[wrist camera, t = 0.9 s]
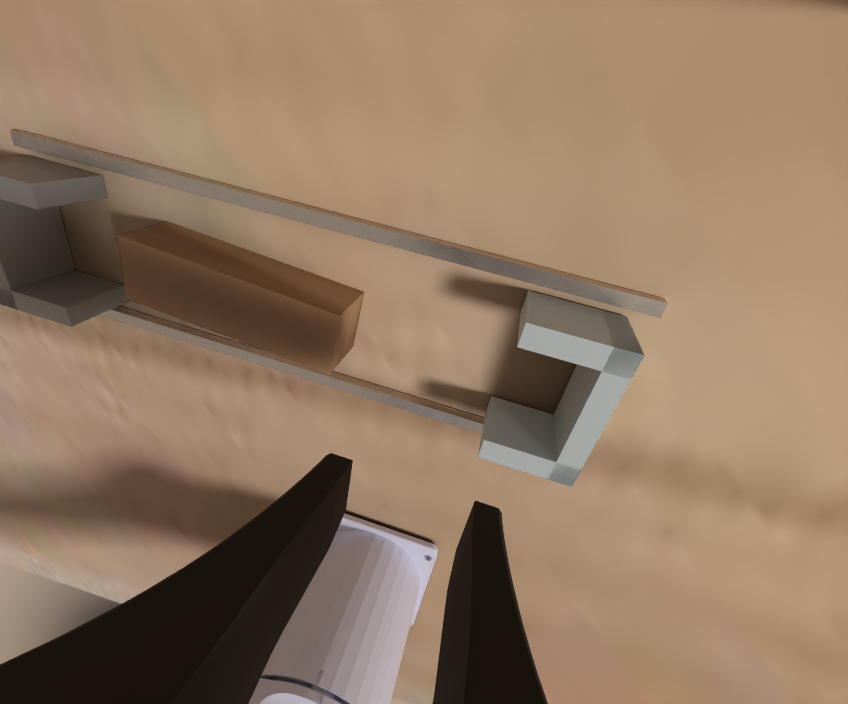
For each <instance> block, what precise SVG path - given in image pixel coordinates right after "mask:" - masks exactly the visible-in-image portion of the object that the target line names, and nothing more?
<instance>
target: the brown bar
mask: <svg viewBox="0 0 848 704" xmlns="http://www.w3.org/2000/svg"><path fill="white" fill-rule="evenodd" d="M118 243H119V251H120V258H121V266H122V274H123V281H124V289H125V297H126V299H129V300H131V301H134V302H137V303H139V304H142V305H145V306H147V307H150V308H153V309H155V310H158V311H161V312H163V313H166V314H169V315H171V316H174V317H176V318H179V319H182V320H184V321H187V322H190V323H192V324H195V325H198V326H200V327H203V328H206V329H208V330H211V331H214V332H216V333H219V334H222V335H224V336H227V337H230V338H232V339H235V340H238V341H240V342H243V343H246V344H248V345H251V346H254V347H256V348H259V349H262V350H264V351H267V352H270V353H272V354H275V355H278V356H280V357H283V358H285V359H288V360H291V361H293V362H296V363H299V364H301V365H304V366H307V367H309V368H312V369H315V370H317V371H320V372H323V373H325V374H328V375H330V373H331V372H332V371H333V370H334V369H335V367H336V366H337V365H338V364H339V363H340V361H341V360H342V359H343V358H344V357H345V355H346V354H347V353H348V352H349V350H350V349H351V348H352V347H353V344H354V339H355V335H356V330H357V325H358V320H359V315H360V310H361V306H362V301H363V296H364V292H363V291H360V290H357V289H355V288H352V287H349V286H346V285H343V284H341V283H338V282H335V281H332V280H329V279H327V278H324V277H321V276H318V275H315V274H313V273H310V272H307V271H304V270H302V269H299V268H296V267H293V266H290V265H288V264H285V263H282V262H279V261H276V260H274V259H271V258H268V257H265V256H262V255H260V254H257V253H254V252H251V251H249V250H246V249H243V248H240V247H237V246H235V245H232V244H229V243H226V242H223V241H221V240H218V239H215V238H212V237H209V236H207V235H204V234H201V233H198V232H196V231H193V230H190V229H187V228H184V227H182V226H179V225H176V224H173V223H170V222H168V221H167V222H163V223H160V224H156V225H152V226H148V227H145V228H141V229H137V230H133V231H130V232H126V233H122V234H118Z"/></svg>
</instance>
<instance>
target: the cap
mask: <svg viewBox="0 0 848 704" xmlns="http://www.w3.org/2000/svg"><path fill="white" fill-rule="evenodd" d="M517 347H518V348H522V349H525V350H529V351H532V352H536V353H539V354H543V355H546V356H550V357H553V358H557V359H560V360H564V361H567V362H571V363H574V364H577V365H576V367H575V370H574V372H573V374H572V376H571V378H570V380H569V383H568V385H567V387H566V389H565V391H564V394H563V396H562V398H561V400H560V402H559V404H558V407H557V409H556V411H555V413H554V415H553V414H550V413H547V412H543V411H540V410H537V409H533V408H530V407H527V406H523V405H520V404H516V403H513V402H510V401H506V400H503V399H500V398H496V397H493V396H491V399H490V402H489V405H488V407H487V410H486V414H485V420H484V425H483V431H482V436H481V442H480V447H479V453H478V457H479V458H482V459H485V460H489V461H492V462H495V463H498V464H501V465H504V466H508V467H511V468H514V469H517V470H520V471H523V472H526V473H530V474H533V475H536V476H539V477H542V478H545V479H549V480H552V481H555V482H558V483H561V484H564V485H567V486H571V487H572V486H573V484H574V482H575V480H576V478H577V477H578V475H579V473H580V471H581V469H582V467H583V466H584V464H585V462H586V460H587V458H588V457H589V455H590V453H591V451H592V449H593V448H594V446H595V444H596V442H597V440H598V439H599V437H600V435H601V433H602V431H603V429H604V428H605V426H606V424H607V422H608V420H609V419H610V417H611V415H612V413H613V411H614V410H615V408H616V406H617V404H618V402H619V400H620V399H621V397H622V395H623V393H624V391H625V390H626V388H627V386H628V384H629V382H630V381H631V379H632V377H633V375H634V373H635V372H636V370H637V368H638V366H639V364H640V362H641V361H642V359H643V357H644V354H643V351H642V349H641V347H640V345H639V342H638V340H637V338H636V336H635V334H634V331H633V329H632V327H631V325H630V323H629V320H628V318H627V317H625V316H622V315H618V314H614V313H611V312H607V311H603V310H599V309H596V308H592V307H588V306H584V305H581V304H577V303H573V302H570V301H566V300H562V299H558V298H555V297H551V296H547V295H544V294H540V293H536V292H532V291H529V290H528V292H527V295H526V298H525V301H524V303H523V306H522V309H521V312H520V323H519V333H518V344H517Z"/></svg>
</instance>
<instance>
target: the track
mask: <svg viewBox="0 0 848 704" xmlns="http://www.w3.org/2000/svg"><path fill="white" fill-rule="evenodd" d="M10 133H11V136H12V140H13V143H14V145H15V146H18V147H22V148H26V149H30V150H33V151H37V152H41V153H45V154H48V155H52V156H56V157H60V158H63V159H67V160H71V161H75V162H78V163H82V164H86V165H90V166H93V167H97V168H101V169H105V170H108V171H112V172H116V173H120V174H123V175H127V176H131V177H135V178H138V179H142V180H146V181H150V182H153V183H157V184H161V185H165V186H168V187H172V188H176V189H180V190H183V191H187V192H191V193H195V194H198V195H202V196H206V197H209V198H213V199H217V200H221V201H224V202H228V203H232V204H236V205H239V206H243V207H247V208H251V209H254V210H258V211H262V212H266V213H269V214H273V215H277V216H281V217H284V218H288V219H292V220H296V221H299V222H303V223H307V224H311V225H314V226H318V227H322V228H326V229H329V230H333V231H337V232H341V233H344V234H348V235H352V236H356V237H359V238H363V239H367V240H371V241H374V242H378V243H382V244H386V245H389V246H393V247H397V248H401V249H404V250H408V251H412V252H416V253H419V254H423V255H427V256H431V257H434V258H438V259H442V260H446V261H449V262H453V263H457V264H461V265H464V266H468V267H472V268H476V269H479V270H483V271H487V272H491V273H494V274H498V275H502V276H506V277H509V278H513V279H517V280H521V281H524V282H528V283H532V284H536V285H539V286H543V287H547V288H551V289H554V290H558V291H562V292H566V293H569V294H573V295H577V296H581V297H584V298H588V299H592V300H596V301H599V302H603V303H607V304H611V305H614V306H618V307H622V308H626V309H629V310H633V311H637V312H641V313H644V314H648V315H652V316H656V317H659V318H661V316H662V314H663V312H664V310H665V309H666V307H667V305H668V303H667V301H666V300H665V299H664V298H660V297H656V296H652V295H648V294H644V293H641V292H637V291H633V290H629V289H625V288H621V287H618V286H614V285H610V284H606V283H602V282H599V281H595V280H591V279H587V278H583V277H579V276H576V275H572V274H568V273H564V272H560V271H557V270H553V269H549V268H545V267H541V266H537V265H534V264H530V263H526V262H522V261H518V260H514V259H511V258H507V257H503V256H499V255H495V254H492V253H488V252H484V251H480V250H476V249H472V248H469V247H465V246H461V245H457V244H453V243H449V242H446V241H442V240H438V239H434V238H430V237H427V236H423V235H419V234H415V233H411V232H407V231H404V230H400V229H396V228H392V227H388V226H385V225H381V224H377V223H373V222H369V221H365V220H362V219H358V218H354V217H350V216H346V215H342V214H339V213H335V212H331V211H327V210H323V209H320V208H316V207H312V206H308V205H304V204H300V203H297V202H293V201H289V200H285V199H281V198H278V197H274V196H270V195H266V194H262V193H258V192H255V191H251V190H247V189H243V188H239V187H235V186H232V185H228V184H224V183H220V182H216V181H213V180H209V179H205V178H201V177H197V176H193V175H190V174H186V173H182V172H178V171H174V170H170V169H167V168H163V167H159V166H155V165H151V164H148V163H144V162H140V161H136V160H132V159H128V158H125V157H121V156H117V155H113V154H109V153H106V152H102V151H98V150H94V149H90V148H86V147H83V146H79V145H75V144H71V143H67V142H63V141H60V140H56V139H52V138H48V137H44V136H41V135H37V134H33V133H29V132H25V131H10ZM99 315H101V316H104V317H107V318H110V319H114V320H117V321H120V322H123V323H126V324H130V325H133V326H136V327H139V328H143V329H146V330H149V331H152V332H155V333H159V334H162V335H165V336H168V337H171V338H175V339H178V340H181V341H184V342H188V343H191V344H194V345H197V346H200V347H204V348H207V349H210V350H213V351H217V352H220V353H223V354H226V355H229V356H233V357H236V358H239V359H242V360H246V361H249V362H252V363H255V364H258V365H262V366H265V367H268V368H271V369H275V370H278V371H281V372H284V373H287V374H291V375H294V376H297V377H300V378H304V379H307V380H310V381H313V382H316V383H320V384H323V385H326V386H329V387H332V388H336V389H339V390H342V391H345V392H349V393H352V394H355V395H358V396H361V397H365V398H368V399H371V400H374V401H378V402H381V403H384V404H387V405H390V406H394V407H397V408H400V409H403V410H407V411H410V412H413V413H416V414H419V415H423V416H426V417H429V418H432V419H436V420H439V421H442V422H445V423H448V424H452V425H455V426H458V427H461V428H465V429H468V430H471V431H474V432H477V433H481V434H482V431H483V425H484V420H485V418H483V417H480V416H476V415H473V414H470V413H466V412H463V411H460V410H457V409H453V408H450V407H447V406H444V405H440V404H437V403H434V402H431V401H427V400H424V399H421V398H417V397H414V396H411V395H408V394H404V393H401V392H398V391H395V390H391V389H388V388H385V387H382V386H378V385H375V384H372V383H368V382H365V381H362V380H359V379H355V378H352V377H349V376H346V375H342V374H339V373H336V372H333V371H332V372H331V373H330V375H328V374H325V373H323V372H320V371H317V370H315V369H312V368H309V367H307V366H304V365H301V364H299V363H296V362H293V361H291V360H288V359H285V358H283V357H280V356H278V355H275V354H272V353H270V352H267V351H264V350H261V349H257V348H254V347H251V346H248V345H244V344H241V343H238V342H235V341H231V340H228V339H225V338H221V337H218V336H215V335H212V334H208V333H205V332H202V331H199V330H195V329H192V328H189V327H186V326H182V325H179V324H176V323H172V322H169V321H166V320H163V319H159V318H156V317H153V316H150V315H146V314H143V313H140V312H137V311H133V310H130V309H127V308H123V307H120V306H117V307H115V308H113V309H110V310H108V311H106V312H104V313H101V314H99Z"/></svg>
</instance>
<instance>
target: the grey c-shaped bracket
mask: <svg viewBox="0 0 848 704" xmlns="http://www.w3.org/2000/svg"><path fill="white" fill-rule="evenodd" d="M101 198H107V195H106V190H105V185H104V180H103V175H100V174H96V173H93V172H89V171H85V170H81V169H78V168H74V167H70V166H67V165H63V164H59V163H55V162H52V161H48V160H44V159H40V158H37V157H33V156H29V155H26V156H10V157H0V304H1V305H5V306H8V307H11V308H14V309H17V310H20V311H24V312H27V313H30V314H33V315H36V316H39V317H42V318H46V319H49V320H52V321H55V322H58V323H61V324H65V325H68V326H71V327H72V326H74V325H76V324H78V323H81V322H83V321H85V320H88V319H90V318H92V317H94V316H97V315H99V314H101V313H104V312H106V311H108V310H110V309H113V308H115V307H117V306H120V305H122V304H124V303H126V302H128V301H127V299H126V297H125V289H124V285H123V284H120V283H116V282H113V281H110V280H106V279H103V278H100V277H96V276H93V275H90V274H86V273H83V272H80V271H76V270H75V267H74V263H73V259H72V255H71V251H70V248H69V244H68V240H67V236H66V232H65V228H64V224H63V221H62V217H61V213H60V209H59V206H61V205H67V204H72V203H78V202H84V201H90V200H95V199H101Z"/></svg>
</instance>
